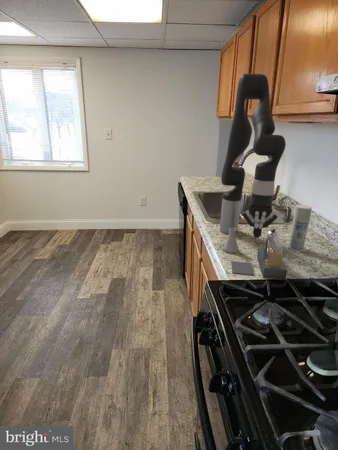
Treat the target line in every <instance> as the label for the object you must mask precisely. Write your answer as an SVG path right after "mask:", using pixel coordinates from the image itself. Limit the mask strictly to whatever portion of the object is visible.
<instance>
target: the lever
mask: <svg viewBox="0 0 338 450" xmlns="http://www.w3.org/2000/svg"><path fill="white" fill-rule="evenodd" d="M278 233H279V232H278V231H276V228H271V229H270V230H268V231H267V239H268V240H270V241H271V243H272V246H273V248H274V250H275V252H276V253H279V254H281V251H282V252H283V246H282V244H281V242H280V240H279V238H278Z"/></svg>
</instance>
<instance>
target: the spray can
mask: <svg viewBox="0 0 338 450" xmlns="http://www.w3.org/2000/svg"><path fill="white" fill-rule="evenodd" d="M312 208H313V207H312V206H310V205H307V204H296V205H295V208H294V214H293V219H292V225H291V232H290V236H289V243H288V249H289V250H291V251H294V252H303V250H304V249H305V248H304V246H305V242H306V237H307V233H308V227H309V223H310V219H311V213H312Z"/></svg>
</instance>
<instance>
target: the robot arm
mask: <svg viewBox="0 0 338 450" xmlns="http://www.w3.org/2000/svg"><path fill="white" fill-rule="evenodd" d="M237 82H238V83H237V89H236V96H235V105H234V112H233V119H232V123H231V127H230V132H229V138H228V144H227V151H226V155H225V159H224V160H225V161H224V164H223V168H222V171H221V177H220V178H221V179H220V180H221V181H220V182H221V184H222V185H223V186H229V187H231V186H232V187H233V188H232V189H230V190H228V191H227V190H226V191H224V192H223V194H222V200H221V201H222V202H221V211H220V222H219V223H220V224H219V232H220V233H223V234H227V235H229V228H235V229H236V231H235V234H237V233H238V230H239V222H240V212H241V205H242V197H243V192H244V190H243V189H244V183H245V179H246V171H245V168H244V167H242V166H233V165H234V164H235V162H236V160H238V158H239V157H240V156H241V155H242V154H243V153H244V152H245V151H246V150H247V148H248V147H249V146H250V142H251V139H252V134H253V130H254V136H253V137H254V139H253V144H252V151H253V152H254V153H255V154H256V155H258V156H262V157H263V156H265V157H267V156H268V157H269V158H267V160H266V161H263V162H258V163H257V164H256V165H255V168H254V169H255V171H254V177H253V178H254V179H253V183H252V188H251V195H250V203H249V206H248V209H247V210H245V211H242V216H243V218H244V219H245V221H246V222H247V224H248V225H249V227H251V228H253V231H252V235H253V237H254V238H256V239H258V238H260V237H261V236H262V232H263V231H262V230H263V229H264V228H268V227H269V226H270V225H272V223H274V221H276V219H278V215H277V214H276V213H275V212H274V211H273V208H272V205H273V199H274V194H275V181H276V175H277V169H278V167H279V163H280V160H281V159H282V156H283V154H284V152H285V150H286V145H287V144H286V139H285V137H284V136H283V135H282V134H281V135H280V134H274V133H275V131H276V125H275V121H274V118H273V114H272V110H271V98H270V88H269V86H270V84H269V81H268V77H267V75H266V74H262V73H242V74H241V75H240V76H239V79H238V81H237ZM246 100H258V101H259V102H258V104H257V105H256V107H255V109H254V110H253V112H252V117H251V120H252V121H251V122H252V124H251V122H250V120H249V117H248V115H247V111H246V107H245V105H246ZM252 126H253V128H252ZM250 216H251V217H252V219H253V221H252V220H251V219H250ZM268 217H269V218H268ZM267 218H268V219H267ZM265 220H266V221H265Z"/></svg>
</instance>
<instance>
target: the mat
mask: <svg viewBox="0 0 338 450" xmlns="http://www.w3.org/2000/svg"><path fill="white" fill-rule="evenodd" d="M230 264H231V271H232V273H231V274H236V275H246V276H255V272H254V268H253V263H252V262H245V261H235V260H231V262H230Z"/></svg>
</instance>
